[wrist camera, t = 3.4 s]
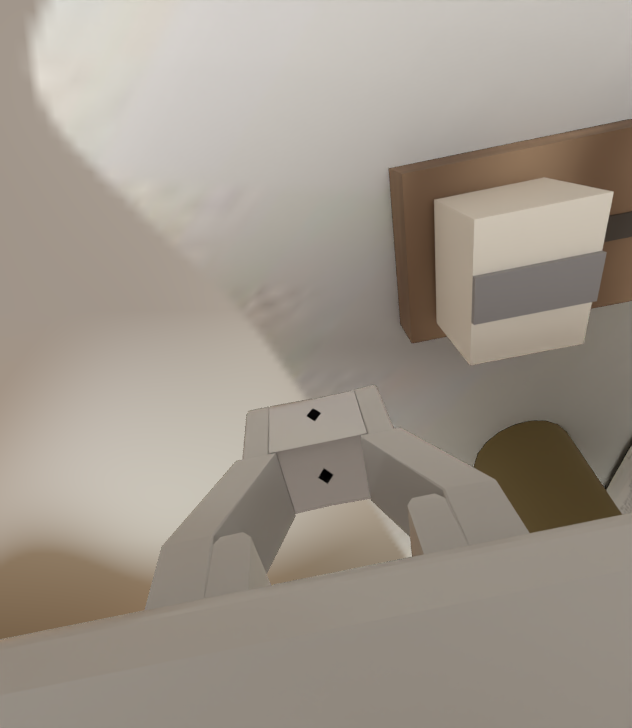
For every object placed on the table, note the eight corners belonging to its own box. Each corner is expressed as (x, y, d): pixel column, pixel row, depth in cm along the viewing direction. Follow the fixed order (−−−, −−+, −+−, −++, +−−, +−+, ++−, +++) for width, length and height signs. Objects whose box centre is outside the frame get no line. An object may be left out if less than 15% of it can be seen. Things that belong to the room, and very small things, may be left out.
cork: (499, 414, 23) (649, 613, 14) (588, 426, 24) (784, 618, 15) (459, 487, 26) (560, 691, 17) (540, 495, 27) (678, 691, 18)
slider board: (793, 85, 16) (860, 80, 14) (728, 260, 19) (775, 274, 18) (388, 168, 16) (402, 174, 14) (400, 324, 20) (412, 344, 18)
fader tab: (544, 177, 14) (619, 192, 11) (530, 304, 17) (587, 346, 14) (434, 199, 14) (477, 221, 11) (436, 323, 17) (472, 368, 14)
